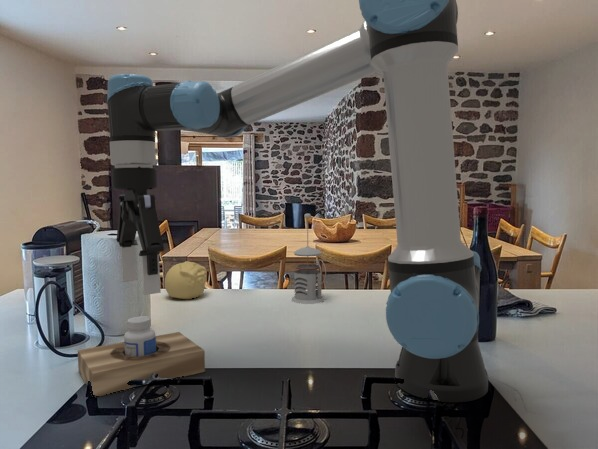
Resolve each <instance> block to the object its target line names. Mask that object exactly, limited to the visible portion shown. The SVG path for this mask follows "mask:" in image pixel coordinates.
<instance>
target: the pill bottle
mask: <svg viewBox="0 0 598 449" xmlns="http://www.w3.org/2000/svg"><path fill="white" fill-rule="evenodd" d="M126 324H127V326H126V327H127V329H128V331H126V332H125V333H124V336H123V342H124V345H125V355H127V356H145V355H150V354H152V353H155V352H156V336H157V335H156V331H155V330H154V329H153V328H151V326H152V323H151V318H150V316H146V315H145V316H144V315H143V316H142V315H140V316H134V317H130V318H127V321H126Z"/></svg>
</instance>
